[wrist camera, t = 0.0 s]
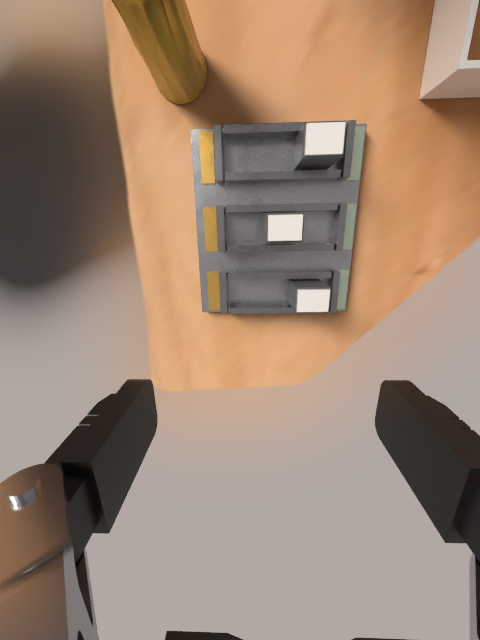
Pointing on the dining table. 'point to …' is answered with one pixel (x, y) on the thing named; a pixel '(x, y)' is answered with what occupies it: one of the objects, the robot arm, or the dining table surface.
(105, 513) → the robot arm
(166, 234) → the dining table surface
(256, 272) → the panel
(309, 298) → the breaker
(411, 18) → the dining table surface
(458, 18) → the frame
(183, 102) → the vase
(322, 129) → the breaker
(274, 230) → the block
